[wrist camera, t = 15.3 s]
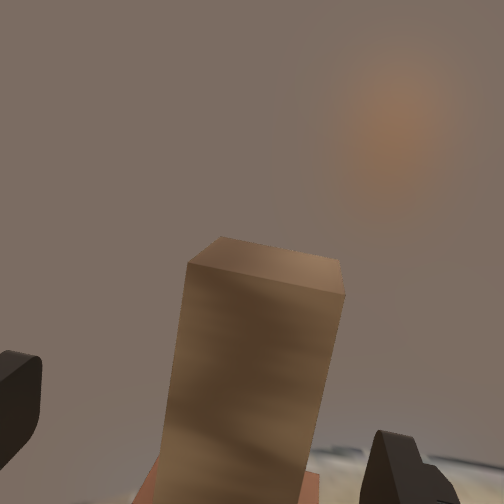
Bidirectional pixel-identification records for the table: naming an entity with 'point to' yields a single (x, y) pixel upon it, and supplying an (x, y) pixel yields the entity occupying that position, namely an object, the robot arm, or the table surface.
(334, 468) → the table surface
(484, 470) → the table surface
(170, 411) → the walnut block
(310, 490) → the tower top
